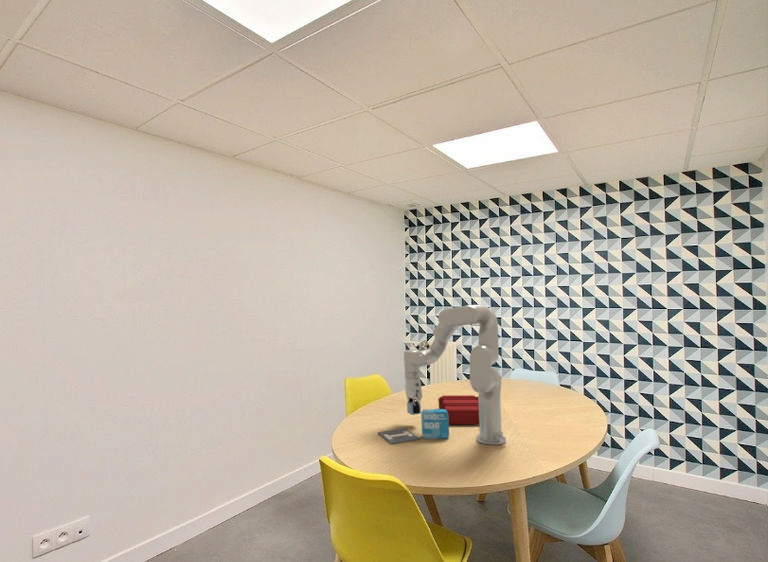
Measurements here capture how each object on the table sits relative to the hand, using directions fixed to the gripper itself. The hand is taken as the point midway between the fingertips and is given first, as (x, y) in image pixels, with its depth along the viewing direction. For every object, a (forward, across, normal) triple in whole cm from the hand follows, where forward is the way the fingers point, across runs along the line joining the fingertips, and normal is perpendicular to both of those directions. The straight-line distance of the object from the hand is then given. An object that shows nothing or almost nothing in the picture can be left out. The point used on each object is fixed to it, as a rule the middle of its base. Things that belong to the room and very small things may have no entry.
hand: (414, 411), depth 196 cm
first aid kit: (+8, +4, -30) cm, 31 cm away
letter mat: (+7, -10, +13) cm, 18 cm away
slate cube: (+1, 0, 0) cm, 1 cm away
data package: (+8, -18, -2) cm, 20 cm away
